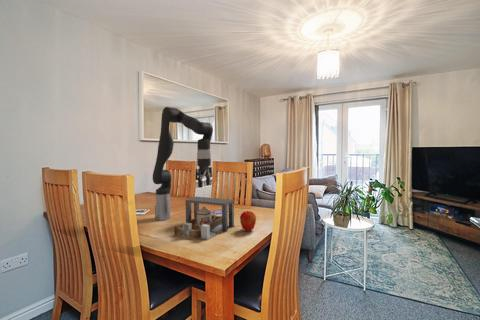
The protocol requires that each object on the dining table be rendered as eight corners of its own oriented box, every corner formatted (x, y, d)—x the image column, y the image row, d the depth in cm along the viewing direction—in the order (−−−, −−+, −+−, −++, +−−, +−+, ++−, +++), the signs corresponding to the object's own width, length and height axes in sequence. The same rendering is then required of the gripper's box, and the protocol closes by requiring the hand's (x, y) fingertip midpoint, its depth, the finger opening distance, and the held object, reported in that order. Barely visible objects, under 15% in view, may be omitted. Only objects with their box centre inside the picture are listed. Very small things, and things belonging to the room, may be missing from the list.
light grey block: (200, 238, 123) (200, 225, 122) (208, 233, 130) (208, 221, 130) (207, 240, 121) (207, 226, 121) (215, 234, 128) (215, 222, 128)
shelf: (186, 226, 143) (185, 199, 142) (196, 220, 153) (195, 196, 153) (225, 232, 132) (225, 203, 132) (233, 226, 142) (233, 199, 142)
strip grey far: (210, 232, 132) (210, 230, 132) (219, 226, 142) (219, 224, 142) (217, 233, 131) (217, 231, 130) (226, 227, 141) (226, 225, 141)
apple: (245, 234, 128) (245, 213, 128) (237, 229, 136) (236, 209, 135) (259, 231, 133) (259, 210, 133) (250, 226, 141) (250, 207, 140)
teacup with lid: (199, 229, 137) (198, 209, 136) (194, 225, 145) (194, 206, 145) (218, 226, 142) (218, 207, 142) (212, 222, 151) (212, 204, 150)
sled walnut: (173, 235, 128) (173, 222, 127) (203, 220, 155) (203, 209, 155) (198, 239, 121) (198, 226, 121) (224, 222, 149) (224, 212, 149)
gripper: (204, 157, 139) (204, 184, 140) (191, 158, 126) (191, 187, 127) (215, 157, 137) (215, 184, 138) (203, 158, 123) (203, 188, 124)
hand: (204, 186), depth 132 cm, fingers open, 8 cm apart
